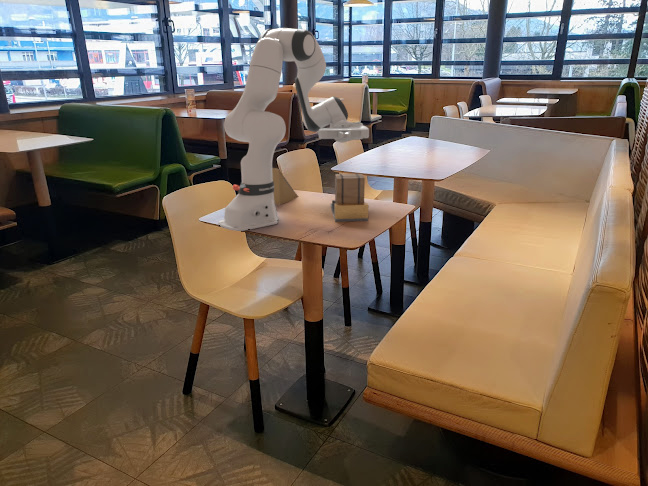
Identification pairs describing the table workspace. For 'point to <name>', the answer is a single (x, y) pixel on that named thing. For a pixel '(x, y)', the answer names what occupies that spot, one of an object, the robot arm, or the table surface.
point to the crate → (349, 188)
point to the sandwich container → (282, 188)
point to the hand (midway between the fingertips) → (345, 135)
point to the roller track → (349, 211)
